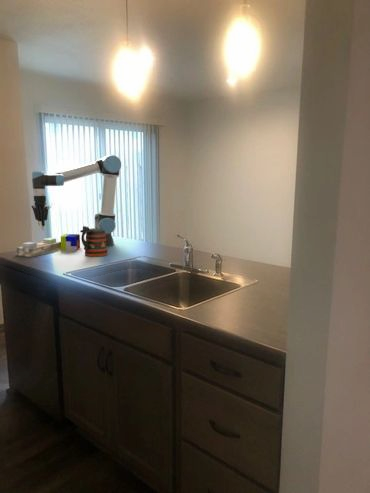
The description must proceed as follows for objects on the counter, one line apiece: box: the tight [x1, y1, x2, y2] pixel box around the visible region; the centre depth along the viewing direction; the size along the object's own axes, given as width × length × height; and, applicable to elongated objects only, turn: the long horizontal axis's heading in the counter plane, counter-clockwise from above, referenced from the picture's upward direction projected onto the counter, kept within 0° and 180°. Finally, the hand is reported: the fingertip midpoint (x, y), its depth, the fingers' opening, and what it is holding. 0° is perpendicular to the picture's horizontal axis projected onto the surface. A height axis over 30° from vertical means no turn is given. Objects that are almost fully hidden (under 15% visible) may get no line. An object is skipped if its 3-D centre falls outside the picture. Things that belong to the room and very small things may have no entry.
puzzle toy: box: [60, 233, 81, 252], centre depth 262 cm, size 10×10×10 cm
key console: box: [16, 240, 61, 258], centre depth 253 cm, size 12×28×5 cm, turn 158°
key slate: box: [21, 241, 38, 248], centre depth 244 cm, size 6×6×4 cm
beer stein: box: [80, 225, 109, 258], centre depth 245 cm, size 19×15×20 cm
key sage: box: [42, 237, 57, 244], centre depth 260 cm, size 6×6×4 cm
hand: (42, 230), depth 254 cm, fingers closed
